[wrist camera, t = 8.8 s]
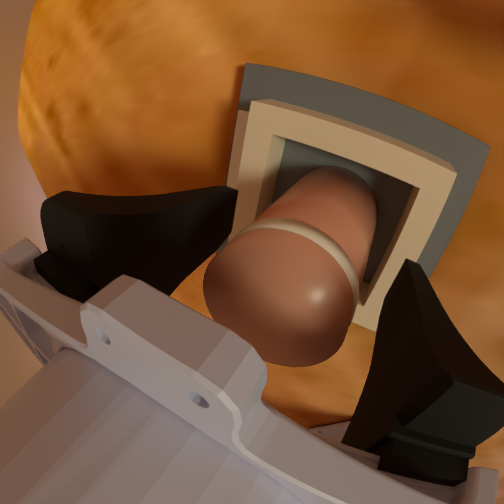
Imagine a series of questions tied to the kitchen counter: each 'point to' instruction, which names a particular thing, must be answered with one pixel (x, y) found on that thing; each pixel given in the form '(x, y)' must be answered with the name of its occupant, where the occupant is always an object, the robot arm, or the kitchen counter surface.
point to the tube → (297, 269)
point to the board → (354, 166)
